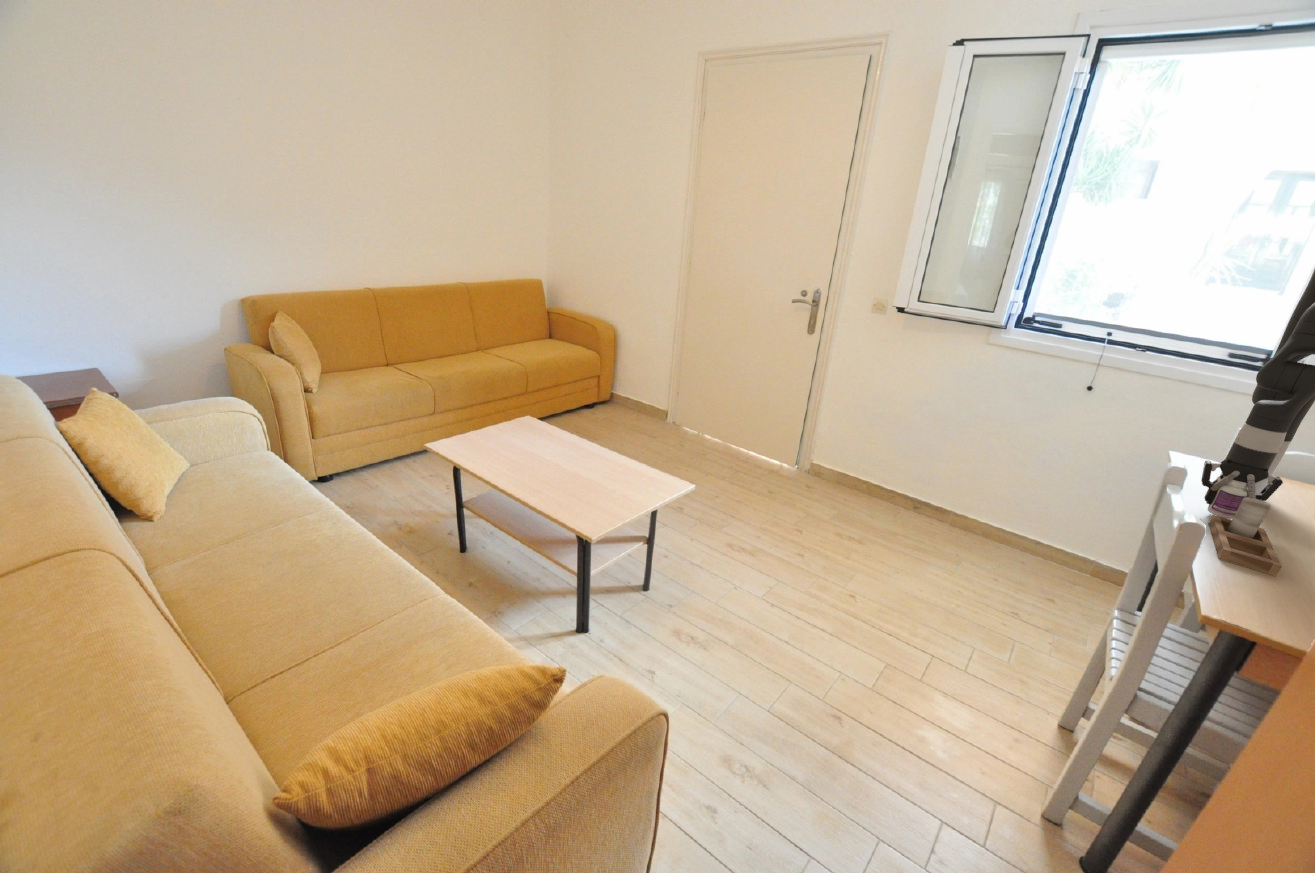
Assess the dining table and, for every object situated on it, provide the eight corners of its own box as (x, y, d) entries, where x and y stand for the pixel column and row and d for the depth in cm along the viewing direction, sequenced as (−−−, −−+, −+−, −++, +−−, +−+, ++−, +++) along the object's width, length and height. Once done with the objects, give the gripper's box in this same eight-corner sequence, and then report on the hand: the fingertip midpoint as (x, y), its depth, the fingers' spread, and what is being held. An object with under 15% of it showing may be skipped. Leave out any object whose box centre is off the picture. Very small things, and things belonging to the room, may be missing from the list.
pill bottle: (1241, 521, 137) (1259, 486, 133) (1216, 517, 138) (1234, 483, 134) (1225, 510, 142) (1243, 476, 138) (1201, 507, 143) (1218, 473, 139)
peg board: (1208, 523, 137) (1226, 487, 133) (1258, 537, 132) (1279, 500, 128) (1218, 558, 122) (1239, 518, 118) (1275, 576, 117) (1300, 535, 113)
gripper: (1296, 449, 131) (1261, 511, 138) (1214, 431, 139) (1185, 492, 146) (1303, 459, 126) (1266, 523, 132) (1217, 440, 134) (1187, 502, 140)
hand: (1224, 506), depth 139 cm, fingers closed on pill bottle, 5 cm apart
